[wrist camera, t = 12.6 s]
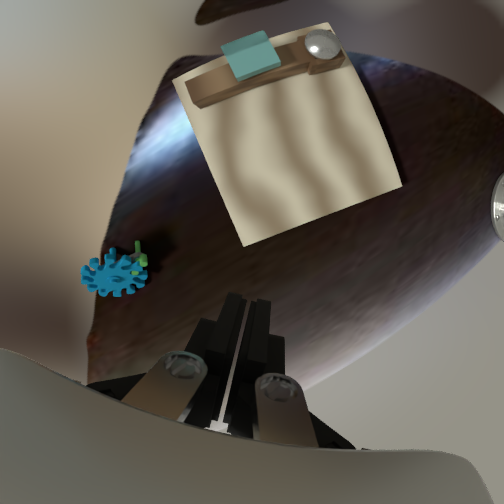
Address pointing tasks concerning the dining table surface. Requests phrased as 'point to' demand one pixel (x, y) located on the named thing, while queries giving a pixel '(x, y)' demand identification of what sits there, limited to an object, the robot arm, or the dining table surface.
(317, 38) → the disc
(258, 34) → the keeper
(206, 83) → the link
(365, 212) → the dining table surface
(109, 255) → the gear
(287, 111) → the board
